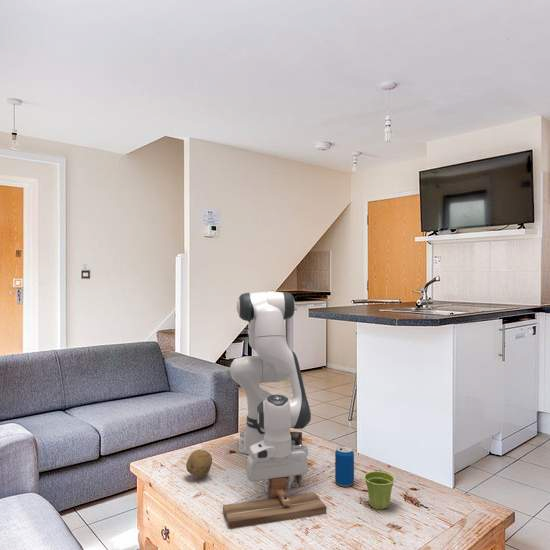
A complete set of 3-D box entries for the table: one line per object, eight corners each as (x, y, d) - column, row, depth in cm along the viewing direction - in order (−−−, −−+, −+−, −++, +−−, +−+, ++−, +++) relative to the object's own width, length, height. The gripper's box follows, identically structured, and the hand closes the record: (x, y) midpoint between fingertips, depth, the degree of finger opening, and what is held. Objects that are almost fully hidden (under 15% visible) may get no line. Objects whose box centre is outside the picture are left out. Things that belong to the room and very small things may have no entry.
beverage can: (340, 477, 165) (340, 444, 165) (357, 482, 161) (357, 448, 161) (332, 484, 160) (331, 449, 160) (348, 489, 156) (348, 454, 156)
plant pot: (393, 515, 139) (393, 486, 139) (361, 509, 143) (361, 481, 143) (396, 500, 148) (396, 473, 148) (366, 496, 151) (366, 469, 151)
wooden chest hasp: (268, 497, 149) (268, 473, 149) (283, 495, 151) (283, 471, 151) (279, 514, 139) (279, 488, 139) (294, 511, 140) (294, 485, 140)
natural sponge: (188, 485, 160) (188, 456, 160) (184, 474, 168) (184, 447, 168) (214, 481, 162) (214, 452, 162) (209, 471, 171) (209, 444, 171)
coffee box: (299, 487, 157) (298, 440, 157) (280, 486, 159) (280, 439, 159) (302, 476, 166) (302, 431, 166) (285, 474, 168) (285, 430, 168)
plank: (222, 511, 141) (222, 504, 141) (314, 498, 150) (314, 491, 150) (229, 528, 132) (229, 521, 132) (326, 513, 140) (326, 506, 140)
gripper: (304, 440, 155) (304, 481, 154) (244, 447, 149) (244, 490, 149) (311, 447, 148) (311, 490, 148) (249, 454, 143) (249, 499, 143)
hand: (277, 490), depth 148 cm, fingers closed on wooden chest hasp, 5 cm apart
